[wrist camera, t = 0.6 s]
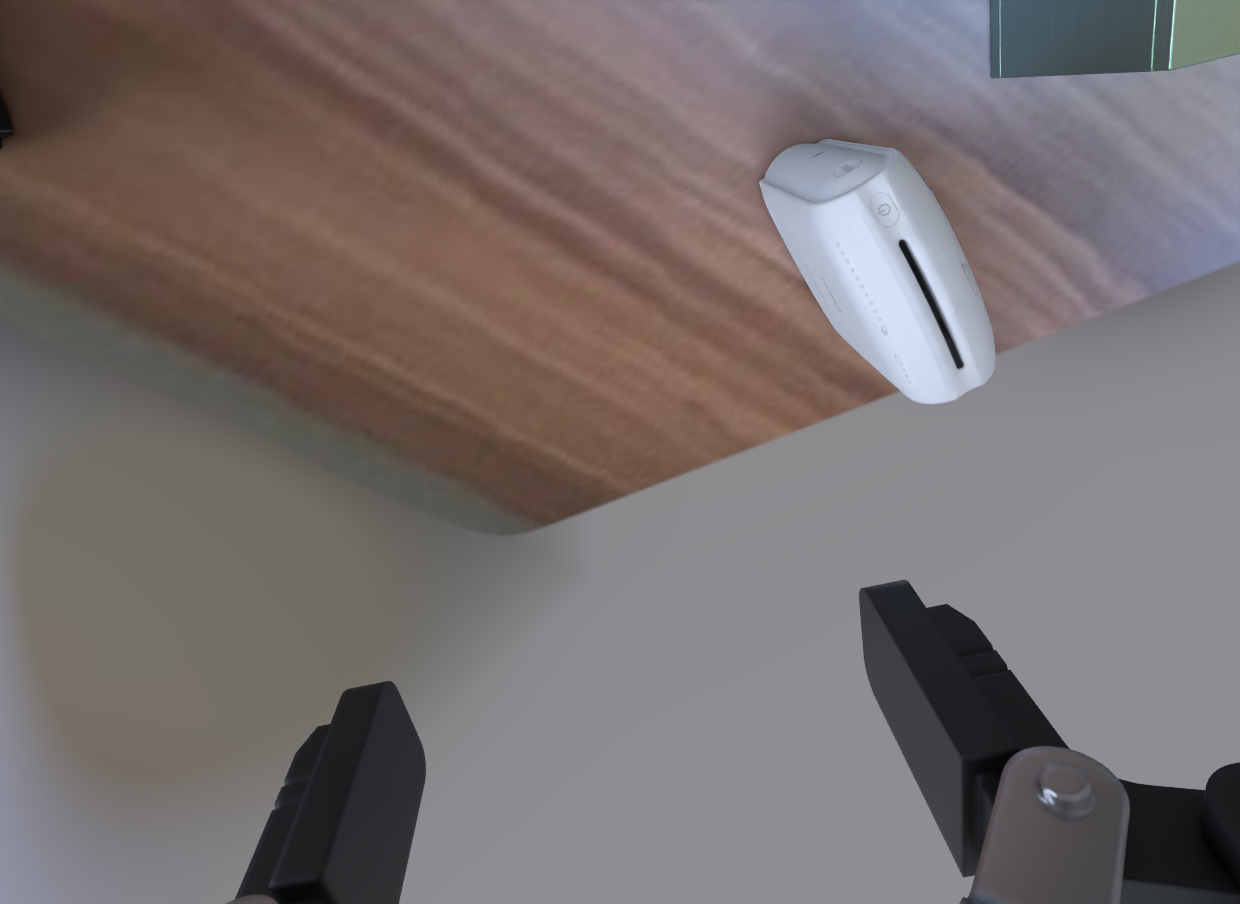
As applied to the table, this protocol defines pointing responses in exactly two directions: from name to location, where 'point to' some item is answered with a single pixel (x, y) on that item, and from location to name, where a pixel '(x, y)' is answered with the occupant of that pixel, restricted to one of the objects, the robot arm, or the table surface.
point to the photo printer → (883, 265)
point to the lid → (1195, 32)
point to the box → (1071, 37)
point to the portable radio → (4, 123)
